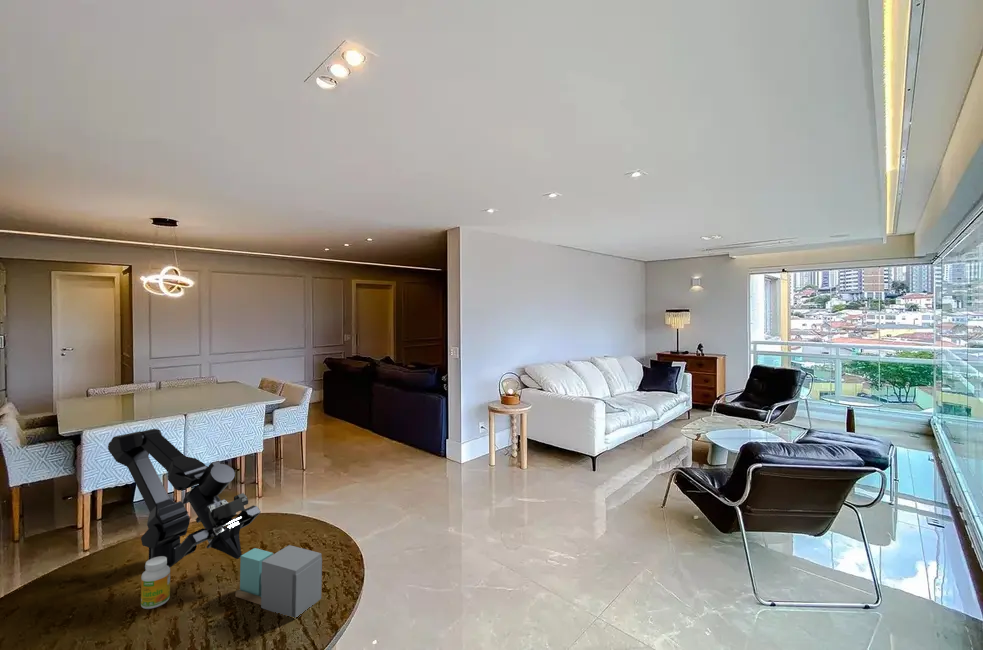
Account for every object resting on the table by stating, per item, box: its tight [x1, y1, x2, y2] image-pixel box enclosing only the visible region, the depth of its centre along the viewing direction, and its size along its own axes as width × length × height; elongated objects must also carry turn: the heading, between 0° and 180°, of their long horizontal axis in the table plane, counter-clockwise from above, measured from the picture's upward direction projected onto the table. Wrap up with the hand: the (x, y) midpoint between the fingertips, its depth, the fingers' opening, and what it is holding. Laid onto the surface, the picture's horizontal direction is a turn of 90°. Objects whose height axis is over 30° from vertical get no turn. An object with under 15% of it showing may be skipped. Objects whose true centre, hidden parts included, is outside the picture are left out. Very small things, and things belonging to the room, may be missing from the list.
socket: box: [260, 544, 323, 618], centre depth 103 cm, size 10×8×11 cm
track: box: [235, 589, 261, 606], centre depth 106 cm, size 9×6×1 cm
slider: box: [239, 547, 274, 597], centre depth 107 cm, size 8×4×9 cm, turn 70°
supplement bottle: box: [140, 556, 171, 610], centre depth 102 cm, size 5×5×10 cm
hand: (239, 557), depth 109 cm, fingers closed
